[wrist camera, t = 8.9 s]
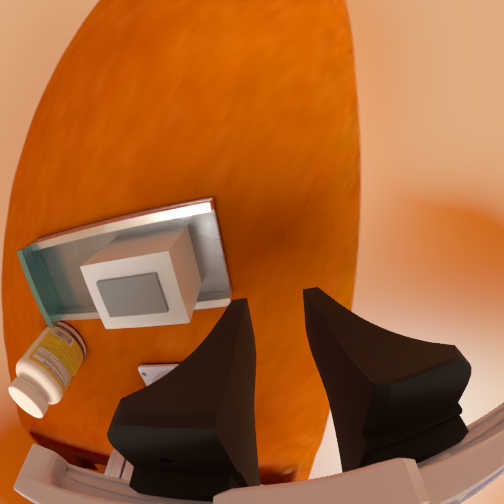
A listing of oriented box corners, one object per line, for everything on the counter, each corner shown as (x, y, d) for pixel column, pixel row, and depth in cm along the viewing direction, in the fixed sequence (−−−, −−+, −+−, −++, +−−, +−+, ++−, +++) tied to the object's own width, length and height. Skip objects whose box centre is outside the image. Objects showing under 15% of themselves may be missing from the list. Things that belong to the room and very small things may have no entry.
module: (202, 283, 20) (189, 325, 15) (130, 292, 20) (104, 331, 15) (187, 225, 19) (167, 252, 14) (113, 239, 19) (77, 268, 14)
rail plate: (213, 196, 19) (206, 205, 16) (232, 292, 21) (230, 315, 18) (37, 238, 19) (16, 251, 16) (64, 310, 22) (48, 328, 19)
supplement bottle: (62, 358, 25) (24, 416, 15) (41, 319, 23) (-7, 375, 13) (95, 360, 24) (59, 428, 15) (74, 319, 22) (24, 385, 13)
